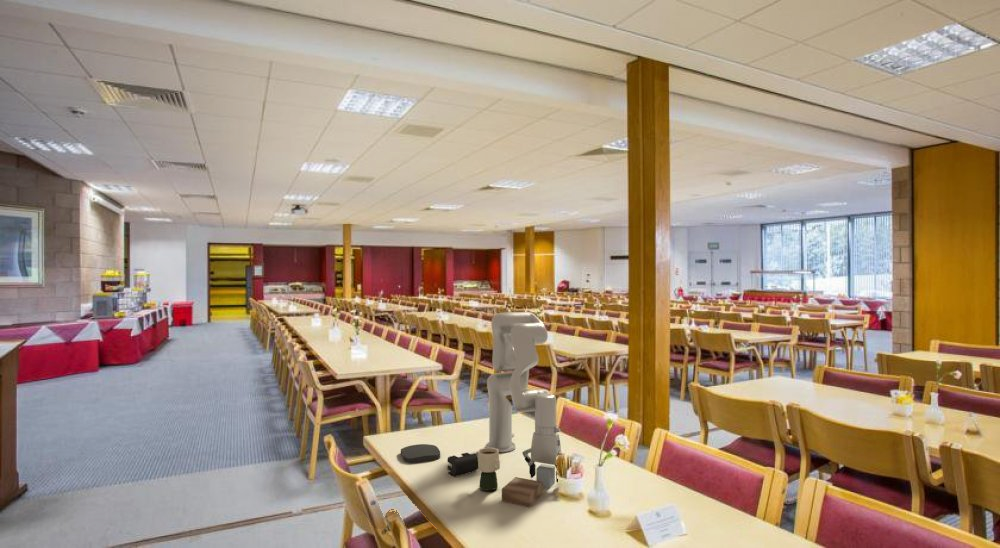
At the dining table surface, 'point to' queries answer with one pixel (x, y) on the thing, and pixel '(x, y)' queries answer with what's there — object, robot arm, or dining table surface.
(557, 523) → the dining table surface
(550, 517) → the dining table surface
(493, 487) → the character mug
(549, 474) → the grey block
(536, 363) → the robot arm
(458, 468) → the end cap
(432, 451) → the media streaming box
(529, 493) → the block
